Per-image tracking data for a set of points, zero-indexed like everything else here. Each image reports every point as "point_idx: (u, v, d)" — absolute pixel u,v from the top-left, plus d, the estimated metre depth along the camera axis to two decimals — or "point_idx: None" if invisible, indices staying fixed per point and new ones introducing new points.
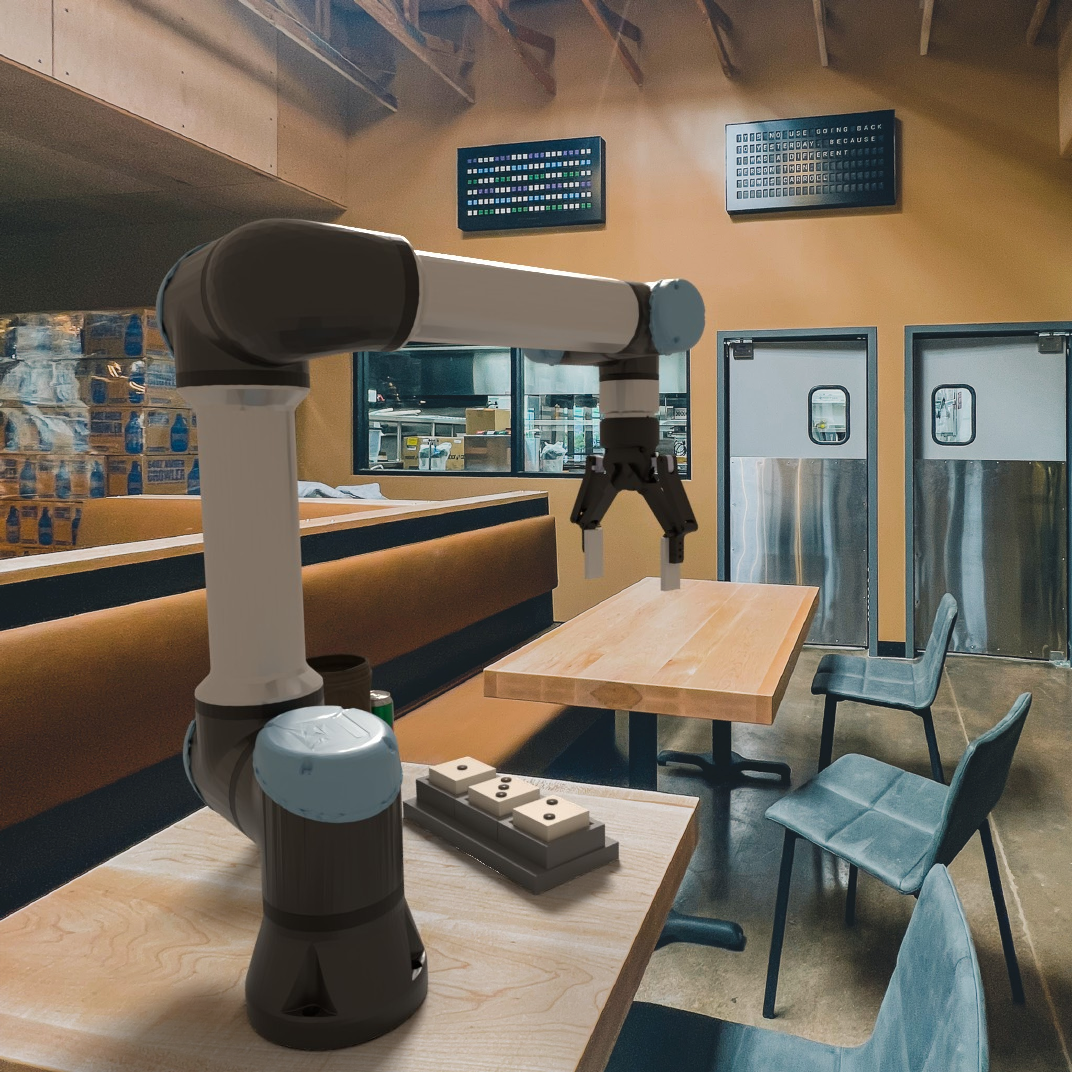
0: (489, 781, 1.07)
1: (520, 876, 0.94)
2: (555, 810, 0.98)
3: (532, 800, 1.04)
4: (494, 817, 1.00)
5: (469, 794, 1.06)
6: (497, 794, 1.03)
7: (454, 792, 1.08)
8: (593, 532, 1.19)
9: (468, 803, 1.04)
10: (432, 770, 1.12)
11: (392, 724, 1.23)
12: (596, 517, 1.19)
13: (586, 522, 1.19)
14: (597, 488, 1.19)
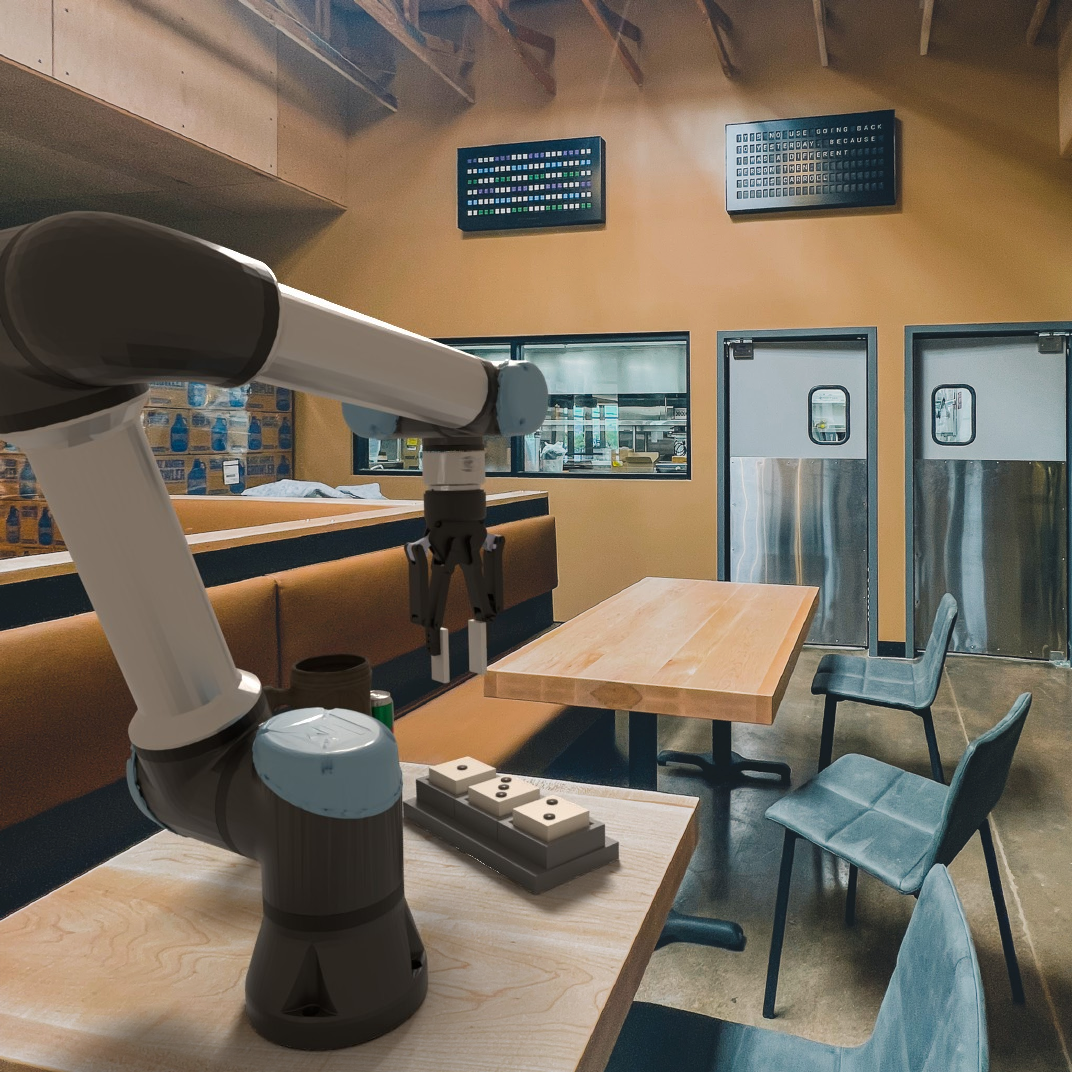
0: (489, 781, 1.07)
1: (520, 876, 0.94)
2: (555, 810, 0.98)
3: (532, 800, 1.04)
4: (494, 817, 1.00)
5: (469, 794, 1.06)
6: (497, 794, 1.03)
7: (454, 792, 1.08)
8: (472, 624, 1.12)
9: (468, 803, 1.04)
10: (432, 770, 1.12)
11: (392, 724, 1.23)
12: (475, 603, 1.11)
13: None
14: (492, 570, 1.12)
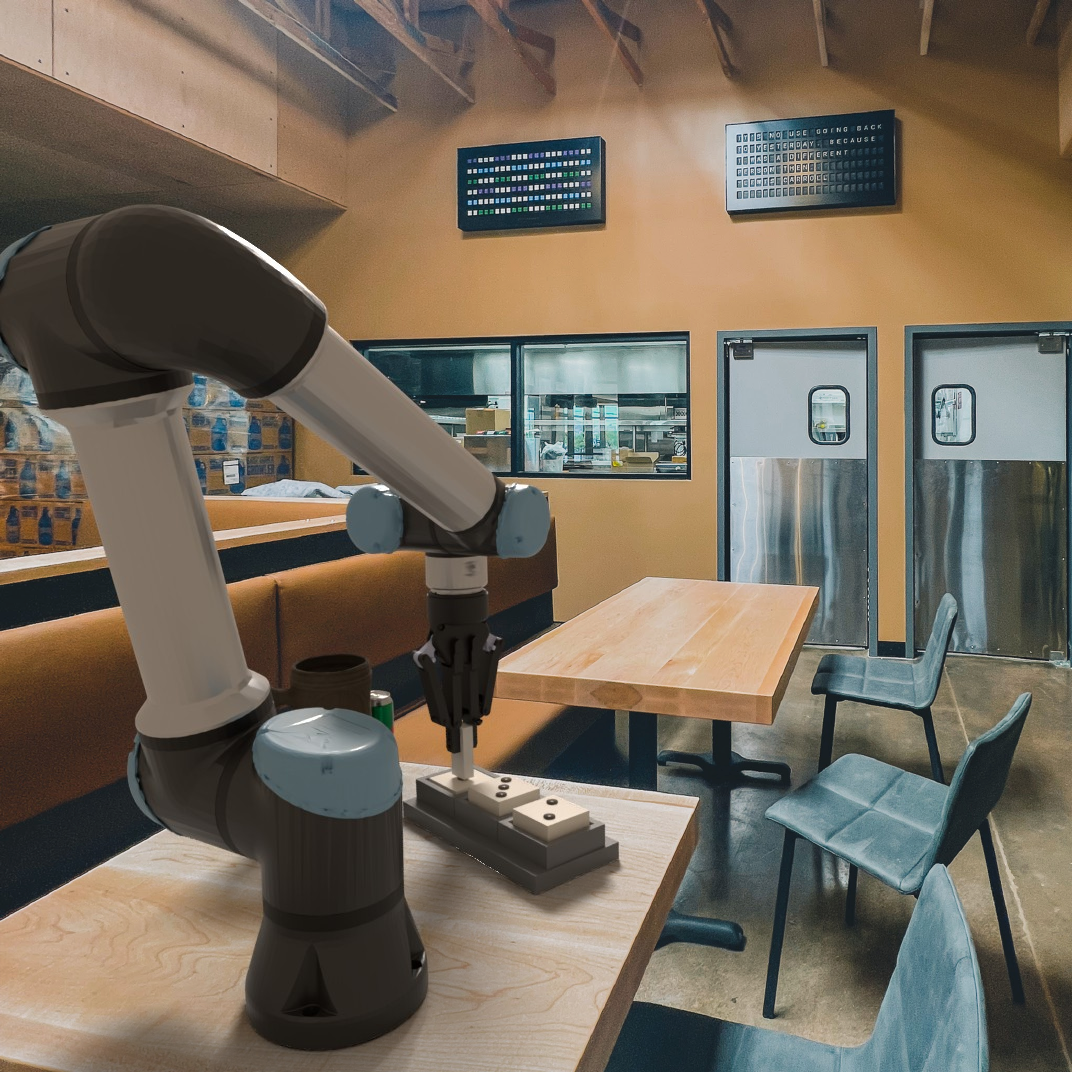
0: (489, 781, 1.07)
1: (520, 876, 0.94)
2: (555, 810, 0.98)
3: (532, 800, 1.04)
4: (494, 817, 1.00)
5: (469, 794, 1.06)
6: (497, 794, 1.03)
7: None
8: None
9: (468, 803, 1.04)
10: (432, 781, 1.12)
11: (392, 724, 1.23)
12: (464, 704, 1.11)
13: None
14: (487, 671, 1.12)
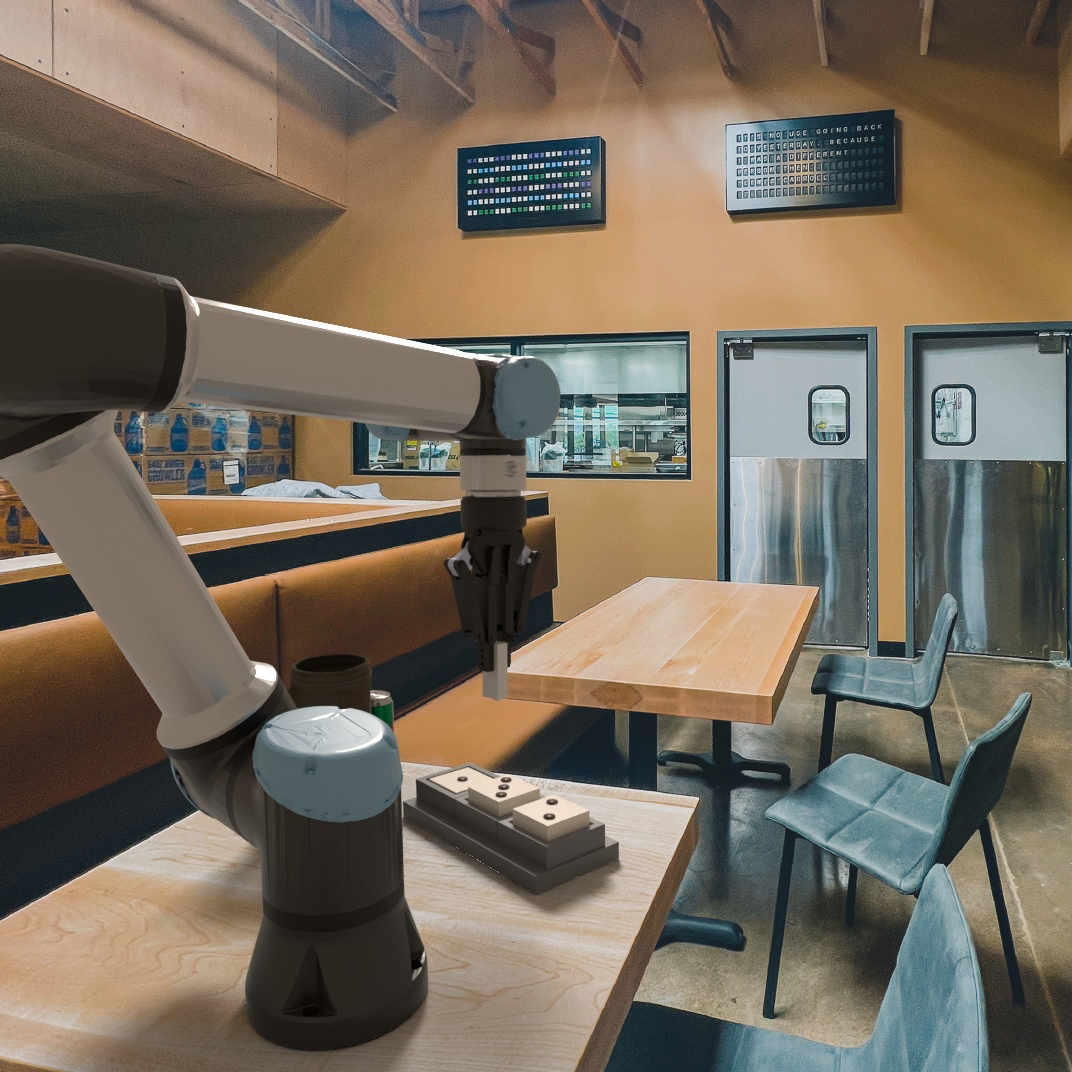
0: (489, 781, 1.07)
1: (520, 876, 0.94)
2: (555, 810, 0.98)
3: (532, 800, 1.04)
4: (494, 817, 1.00)
5: (469, 794, 1.06)
6: (497, 794, 1.03)
7: None
8: None
9: (468, 803, 1.04)
10: (432, 781, 1.12)
11: (392, 724, 1.23)
12: (498, 620, 1.04)
13: None
14: (522, 586, 1.05)
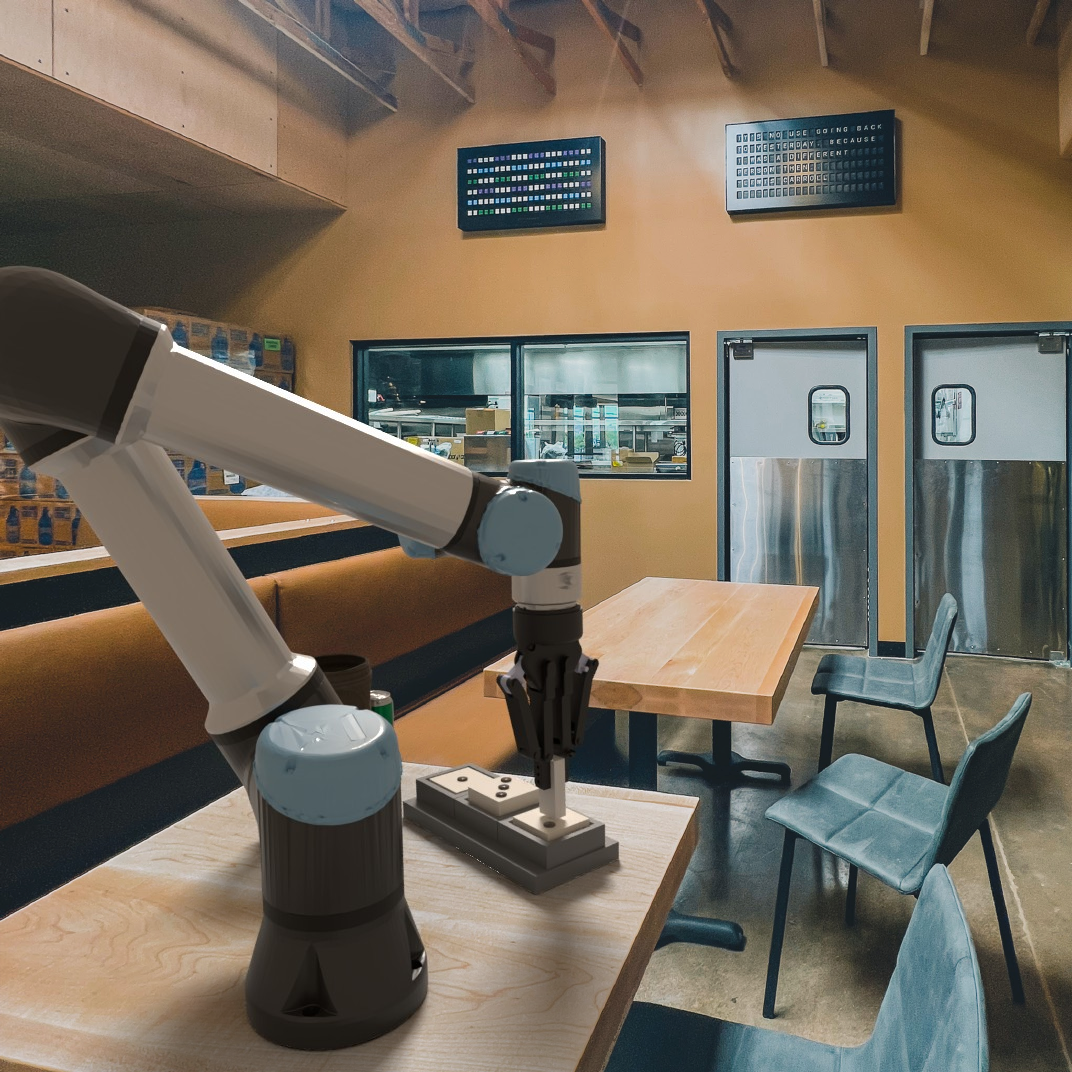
0: (489, 781, 1.07)
1: (520, 876, 0.94)
2: None
3: (532, 800, 1.04)
4: (494, 817, 1.00)
5: (469, 794, 1.06)
6: (497, 794, 1.03)
7: None
8: None
9: (468, 803, 1.04)
10: (432, 781, 1.12)
11: (392, 724, 1.23)
12: (555, 733, 0.98)
13: None
14: (579, 696, 0.99)
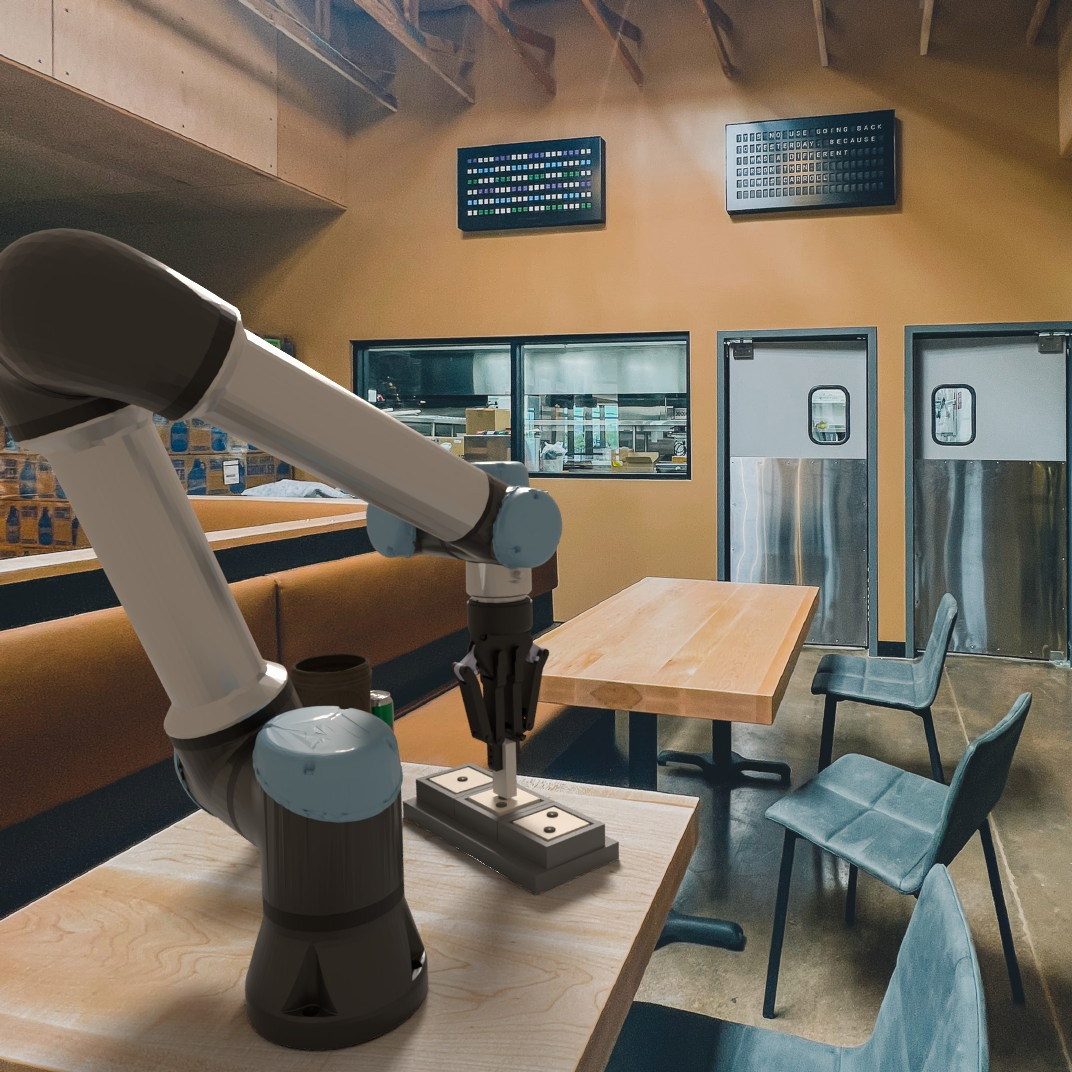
0: (489, 791, 1.07)
1: (520, 876, 0.94)
2: (555, 823, 0.99)
3: None
4: (494, 817, 1.00)
5: None
6: (497, 804, 1.03)
7: None
8: None
9: (468, 803, 1.04)
10: (432, 781, 1.12)
11: (392, 724, 1.23)
12: (507, 718, 1.05)
13: None
14: (530, 684, 1.06)
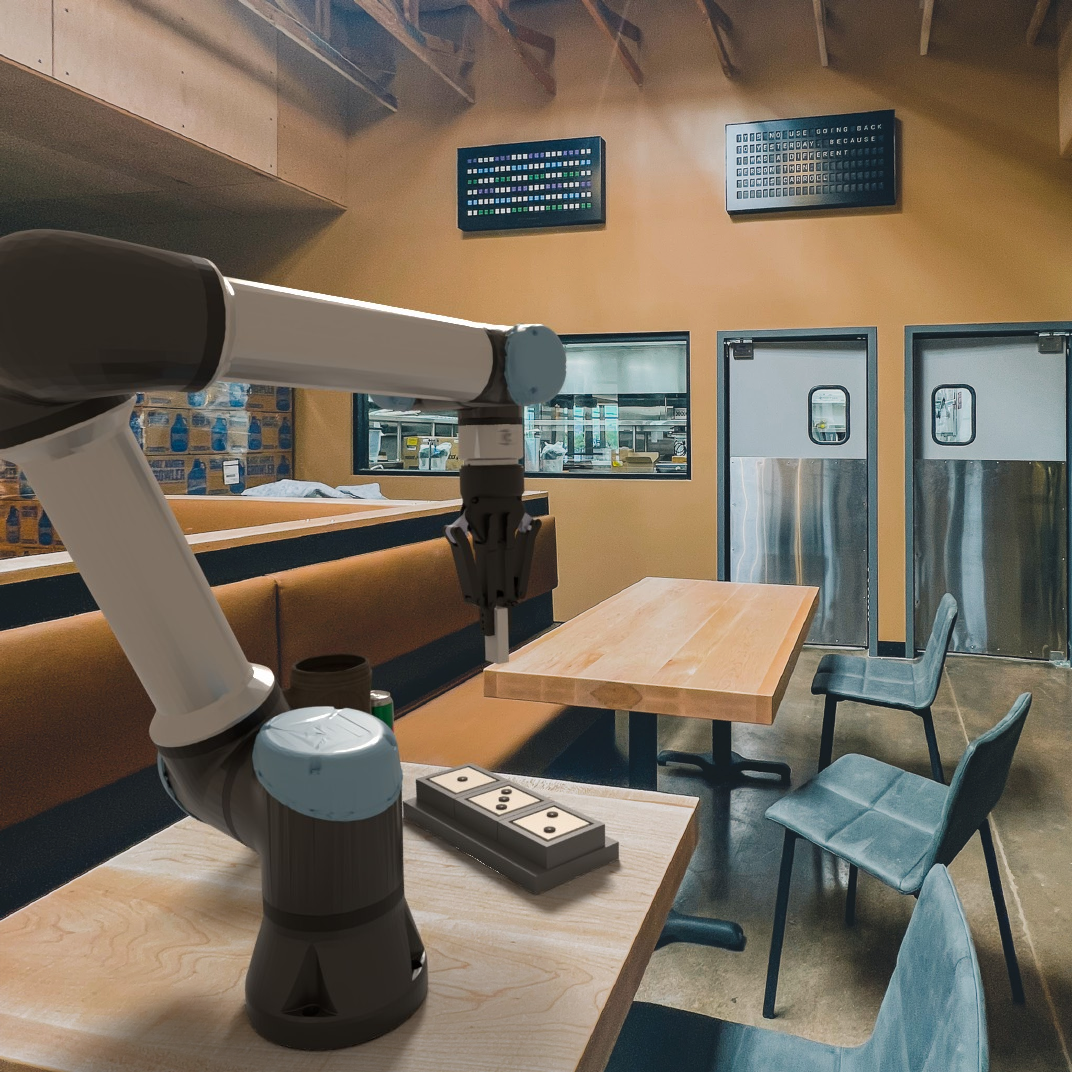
0: (489, 793, 1.07)
1: (520, 876, 0.94)
2: (555, 823, 0.99)
3: None
4: (494, 817, 1.00)
5: None
6: (497, 806, 1.03)
7: None
8: None
9: (468, 803, 1.04)
10: (432, 781, 1.12)
11: (392, 724, 1.23)
12: (499, 586, 1.06)
13: (495, 592, 1.07)
14: (523, 552, 1.07)
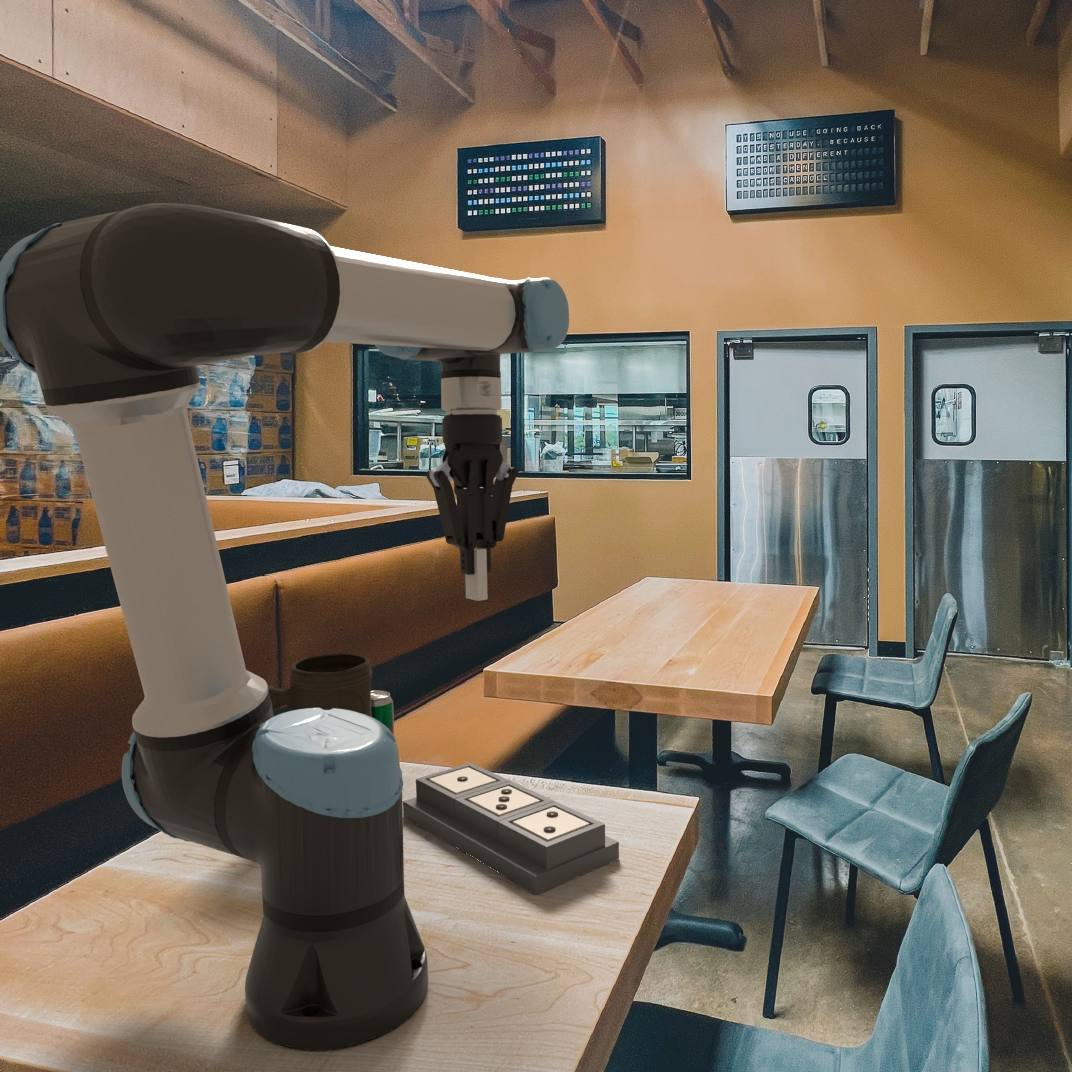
0: (489, 793, 1.07)
1: (520, 876, 0.94)
2: (555, 823, 0.99)
3: None
4: (494, 817, 1.00)
5: None
6: (497, 806, 1.03)
7: None
8: None
9: (468, 803, 1.04)
10: (432, 781, 1.12)
11: (392, 724, 1.23)
12: (478, 528, 1.15)
13: None
14: (500, 498, 1.15)
